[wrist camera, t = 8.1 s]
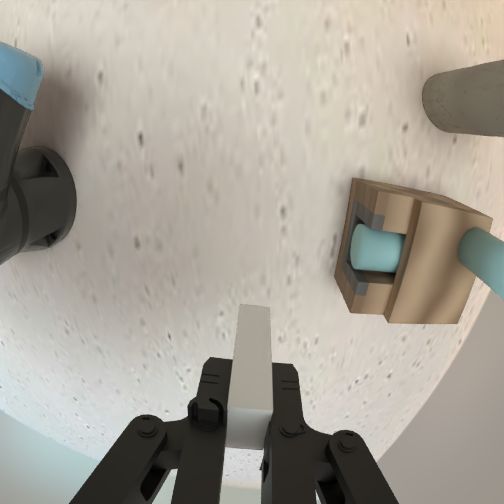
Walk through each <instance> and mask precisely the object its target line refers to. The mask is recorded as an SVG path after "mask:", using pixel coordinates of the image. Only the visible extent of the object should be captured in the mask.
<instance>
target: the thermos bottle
mask: <svg viewBox="0 0 504 504" xmlns="http://www.w3.org/2000/svg"><path fill="white" fill-rule="evenodd" d="M423 105H424V108H425V111H426V113H427V115H428V117H429V119H430V120H431V121H432V123H433V124H434V125H435V126H436V127H438V128H439V129H441V130H443V131H445V132H450V133H462V134H473V135H483V136H499V137H504V60H500V61H494V62H489V63H484V64H480V65H476V66H472V67H467V68H461V69H457V70H453V71H448V72H444V73H441V74H437V75H434V76H432V77H430V78H429V79H428V80H427V82H426V84H425V86H424V89H423Z"/></svg>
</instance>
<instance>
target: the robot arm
mask: <svg viewBox="0 0 504 504" xmlns="http://www.w3.org/2000/svg"><path fill="white" fill-rule="evenodd" d="M43 76H44V67H43V64H42V62H41V61H40V60H39V59H38V58H36V57H34V56H32V55H30V54H28V53H26V52H24V51H22V50H19V49H17V48H15V47H12V46H10V45H7V44H5V43H3V42H0V265H1V264H2V263H4V262H5V261H7V260H8V259H10V258H11V257H13V256H14V255H16V254H17V253H19V252H28V251H37V250H44V249H47V248H50V247H51V246H53V245H55V244H56V243H58V242H59V241H61V240H62V239H63V238H64V237H65V236H66V235H67V233H68V232H69V230H70V228H71V226H72V224H73V221H74V217H75V211H76V193H75V186H74V182H73V179H72V176H71V173H70V171H69V169H68V167H67V165H66V164H65V162H64V161H63V160H62V158H61V157H60V156H59V155H58V154H57V153H55V152H54V151H53V150H51V149H49V148H46V147H40V146H37V147H31V148H26V149H23V150H20V151H18V150H19V146H20V143H21V140H22V137H23V134H24V131H25V128H26V125H27V122H28V119H29V116H30V114H31V111H33V110H34V106H35V105H34V102H35V99H36V96H37V93H38V90H39V87H40V85H41V82H42V79H43ZM187 407H188V416H187V417H186V418H184V419H181V420H177V421H169V422H163V421H162V420H161V419H160V418H158V417H156V416H153V415H149V414H148V415H140V416H138V417H135V418H134V419H133V420H132V421H131V422H130V423H129V425H128V426H127V427H126V429H125V430H124V431H123V433H122V434H121V435H120V437H119V438H118V439H117V441H116V442H115V443H114V445H113V446H112V447H111V449H110V450H109V451H108V453H107V454H106V455H105V457H104V458H103V459H102V461H101V462H100V463H99V465H98V466H97V467H96V468H95V470H94V471H93V473H92V474H91V475H90V476H89V478H88V479H87V480H86V482H85V483H84V484H83V486H82V487H81V488H80V490H79V491H78V492H77V494H76V495H75V496H74V498H73V499H72V500H71V502H70V503H69V504H152V502H153V501H154V499H155V497H156V495H157V494H158V492H159V490H160V489H161V487H162V485H163V483H164V481H165V480H166V478H167V476H168V475H169V473H170V471H171V469H178V471H177V476H176V480H175V485H174V490H173V495H172V500H171V504H219V502H220V492H221V483H222V473H223V464H224V453H225V447H229V448H240V449H253V450H263V447H264V456H263V460H262V463H261V467H260V470H262V485H261V504H317V503H316V492H317V494H318V497H319V499H320V502H321V504H399V503H398V501H397V500H396V498H395V496H394V494H393V492H392V490H391V489H390V487H389V485H388V483H387V481H386V480H385V478H384V476H383V474H382V472H381V471H380V469H379V467H378V465H377V463H376V462H375V460H374V458H373V456H372V454H371V453H370V451H369V449H368V447H367V445H366V444H365V442H364V440H363V439H362V437H361V436H360V435H359V434H357V433H355V432H354V431H350V430H340V431H338V432H336V433H334V434H333V435H329V434H325V433H321V432H318V431H315V430H314V429H312V428H310V427H309V426H308V425H307V424H306V422H305V420H304V417H303V411H302V402H301V394H300V386H299V378H298V372H297V370H296V369H295V367H294V366H293V364H286V363H272V355H271V326H270V307H263V306H253V305H243V304H240V306H239V314H238V322H237V331H236V339H235V347H234V355H233V360H231V359H222V358H214V357H210V358H209V359H208V360H207V361H206V362H205V363H204V365H203V369H202V374H201V378H200V382H199V387H198V391H197V396H196V397H195V398H194V399H192V400H191V401H190V402H189V404H188V406H187ZM315 489H316V492H315Z"/></svg>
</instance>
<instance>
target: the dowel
mask: <svg viewBox="0 0 504 504" xmlns="http://www.w3.org/2000/svg"><path fill="white" fill-rule="evenodd" d="M458 258H459V261H460V262H461V264H462V265H464V266H465V267H466V268H467V269H469V270H470V271H471V272H472V273H473V274H475V275H476V276H477V277H478V278H479V279H481V280H482V281H483V282H484V283H485V284H486V285H488V286H489V287H490V288H491V289H492V290H493V291H494V292H496V293H497V294H498V295H499V296H500V297H501V298H502V299H503V300H504V242H503V241H501V240H500V239H498V238H496V237H495V236H493V235H491V234H490V233H488V232H486V231H484V230H483V229H481V228H479V227H474V228H471V229H469V230H468V231H467V232H466V233H465V234H464V235H463V236H462V238H461V240H460V242H459V245H458Z"/></svg>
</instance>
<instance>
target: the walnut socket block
mask: <svg viewBox="0 0 504 504" xmlns="http://www.w3.org/2000/svg"><path fill="white" fill-rule="evenodd" d="M492 221H493V218H491V217H489V216H487V215H485V214H483V213H481V212H479V211H477V210H475V209H472V208H470V207H468V206H466V205H464V204H462V203H460V202H457V201H455V200H453V199H451V198H448V197H446V196H442V195H438V194H433V193H429V192H424V191H420V190H415V189H411V188H406V187H401V186H396V185H391V184H386V183H381V182H375V181H370V180H364V179H358V178H353V179H352V186H351V192H350V198H349V204H348V210H347V215H346V221H345V226H344V232H343V237H342V242H341V247H340V252H339V257H338V261H337V266H336V271H335V275H334V277H335V280H336V282H337V284H338V286H339V289H340V291H341V293H342V295H343V298H344V300H345V302H346V304H347V307H348V309H349V311H350V313H359V314H380V315H384V317H385V318H386V320H387V322H388V323H398V324H458V321H459V319H460V317H461V314H462V312H463V310H464V307H465V305H466V302H467V300H468V297H469V294H470V292H471V289H472V286H473V284H474V281H475V278H476V275H475V274H473V273H472V272H471V271H470V270H469V269H467V268H466V267H465V266H464V265H462V264H461V262H460V261H459V258H458V245H459V242H460V240H461V238H462V236H463V235H464V234H465V233H466V232H467V231H468V230H469V229H471V228H474V227H479V228H481V229H483V230H484V231H486V232H488V233H489V232H490V229H491V225H492ZM358 224H366V225H367V226H368V227H369V228H370V229H374V230H381V231H388V232H395V233H402V234H406V239H405V243H404V247H403V250H402V254H401V258H400V262H399V265H398V269H397V272H396V273H392V272H381V271H371V270H360V269H354V268H353V266H352V263H351V255H350V251H351V241H352V236H353V233H354V230H355V228H356V226H357V225H358Z"/></svg>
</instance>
